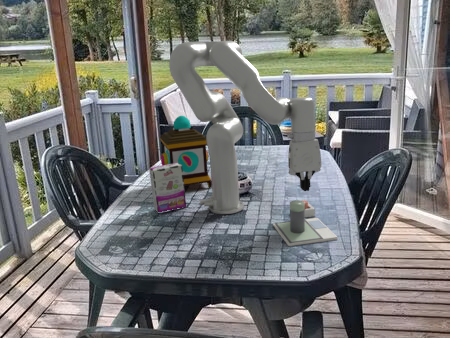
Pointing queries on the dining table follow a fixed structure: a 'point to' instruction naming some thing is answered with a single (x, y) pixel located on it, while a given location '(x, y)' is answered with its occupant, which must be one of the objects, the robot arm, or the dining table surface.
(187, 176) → the decorative lantern
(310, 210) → the button housing
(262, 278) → the dining table surface
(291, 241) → the picture board
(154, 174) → the candy bar box
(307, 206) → the button
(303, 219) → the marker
